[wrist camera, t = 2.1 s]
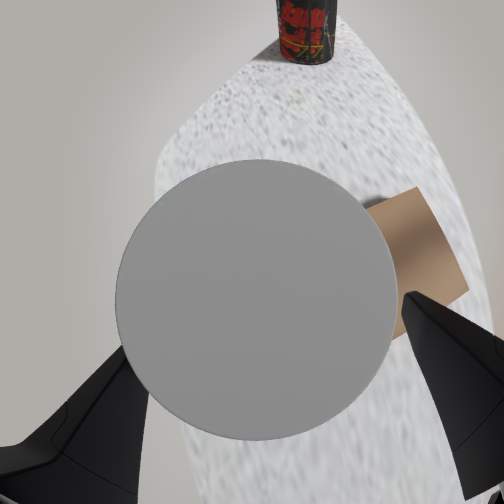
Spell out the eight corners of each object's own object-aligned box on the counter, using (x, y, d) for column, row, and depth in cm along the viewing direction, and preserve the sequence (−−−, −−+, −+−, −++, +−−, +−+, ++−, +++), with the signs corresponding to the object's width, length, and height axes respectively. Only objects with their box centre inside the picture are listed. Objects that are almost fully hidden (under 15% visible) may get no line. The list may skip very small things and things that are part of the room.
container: (229, 322, 19) (68, 290, 4) (277, 272, 19) (247, 111, 5) (279, 371, 17) (249, 497, 3) (329, 319, 18) (456, 280, 4)
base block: (451, 294, 17) (469, 289, 15) (363, 347, 17) (374, 349, 15) (405, 201, 19) (417, 186, 17) (315, 241, 19) (319, 229, 17)
